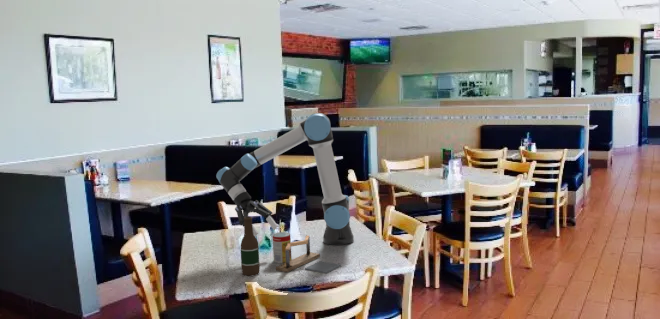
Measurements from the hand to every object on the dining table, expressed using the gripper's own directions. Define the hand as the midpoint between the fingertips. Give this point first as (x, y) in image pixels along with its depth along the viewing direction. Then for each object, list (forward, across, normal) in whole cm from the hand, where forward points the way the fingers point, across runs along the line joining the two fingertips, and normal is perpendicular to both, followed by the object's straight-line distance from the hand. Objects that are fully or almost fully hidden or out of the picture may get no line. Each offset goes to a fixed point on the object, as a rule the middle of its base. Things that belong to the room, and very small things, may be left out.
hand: (266, 231), depth 257 cm
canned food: (+15, 0, -3) cm, 15 cm away
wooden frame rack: (+21, -1, +3) cm, 21 cm away
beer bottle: (+14, +20, -4) cm, 24 cm away
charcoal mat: (+30, -1, +13) cm, 33 cm away
